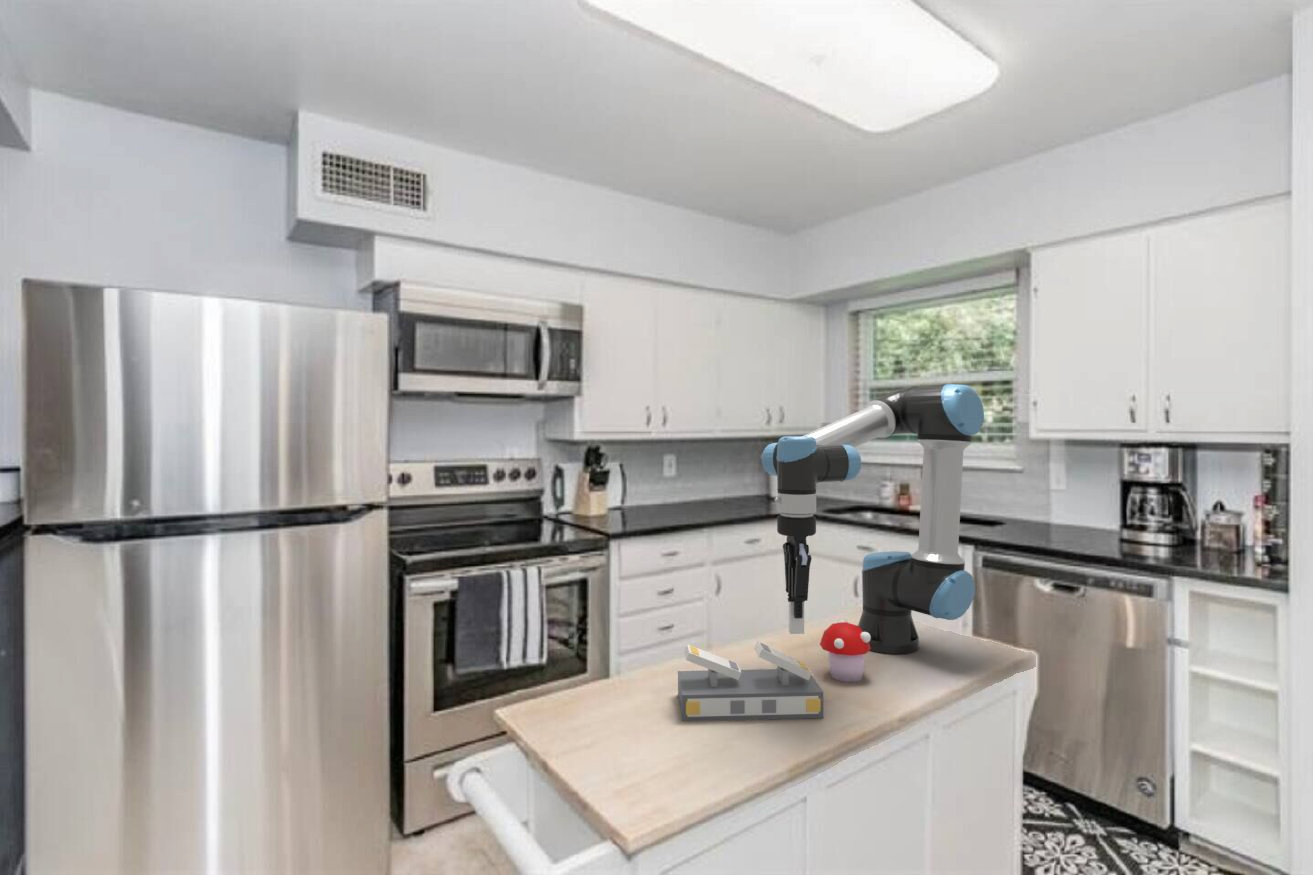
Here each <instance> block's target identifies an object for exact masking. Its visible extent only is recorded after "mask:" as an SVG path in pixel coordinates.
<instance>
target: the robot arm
mask: <svg viewBox="0 0 1313 875" xmlns="http://www.w3.org/2000/svg"><path fill="white" fill-rule="evenodd" d="M984 421H985V412H984V405H983V402H982V400H981V398H980V396H979V395H978V393H977V391H976V390H975V389H973V388H972V387H971V386H969V385H966V384H954V383H953V384H952V383H950V384H949V383H947V384H934V385H920V386H917V385H915V386H913V385H912V386H908V387H904V388H900V389H897V390H894V391H892V392H890V393H887V394H885V395H882V396H880V397H878V398H876V399H873V400H871V401H869V402H867V403H866V404H865V405H864V406H863V408H862V409H860V410H859V411H856V412H854V413H852V414H849V415H847V416H845V417H843V418H840V419H837V420H836V421H834V422H831V423H829V424H827V425H824V426H822V427H820V428H817V429H815V430H813V431H811V432H808V433H806V434H804V435H800V436H790V435H788V436H782V437H780V438H779V439H778V442H772V443H770V444H768V445H767V446H766V447H765V448H764V450H763V452H762V454H761V463H762V464H761V465H762V467H763V469H764V471H765V472H766V473H767V474H769V475H771V476H776V477H777V478H776V479H777V481H776V482H777V483H776V485H777V487H776V489H777V490H776V491H777V497H775V498H774V502H775V503H777V512H778V513H779V514H778V515H777V516H776V519H777V520H776V521H777V522H776V523H777V525H776V526H777V527H776V530H777V533H778V535H781V536H785V537H786V542H784V543H783V544H782V549H783V556H784V557H783V558H784V560H783V561H784V575H785V591H786V594H787V596H788V597H787V601H788V602H787V603H788V632H789V634H790V635H804V634H805V601H806V602H807V601H808V597H809V582H810V567H811V564H812V563H811V562H812V560H813V559H812V555H811V554H810V552H809V551H810V549H809V548H810V546H809V544H807V537H812V536H814V535H816V533H817V517H816V516H815V514H816V513H817V484H818V483H832V482H841V483H842V482H845V481H851V480H853V479H855V478H856V477H857V476H858V475H859V473H860V472H861V468H862V458H861V455H860V452H859V450H857V449H856V448H857V447H860V446H861V445H863V444H865V443H868V442H870V441H872V440H874V439H877V438H878V439H885V438H888V437H890V436H893V435H900V434H908V435H909V434H910V435H911V434H915V435H917V438H916V440H917V442H918V443H919V444H920V445H921V447H922V448H923V455H922V456H923V457H922V474H921V476H922V478H921V490H920V491H921V494H920V511H919V512H920V513H919V532H918V533H919V534H918V549H917V550H916V551H914V552H913V553H911V552H908V551H901V550H899V551H897V550H896V551H879V552H878V551H877V552H872V553H867V554H866V555H865V556H864V557H863V560H862V569H861V572H862V573H861V574H862V575H861V578H862V579H861V581H862V583H861V585H862V586H861V588H862V612H861V615H860V618H859V621H858V624H857V626H859V627H860V629H861V630H862V631H863V632H868V633H869V634H870V636H871V639H870V641H869V644H870V648H871V650H870V651H872V652H875V653H876V652H877V653H881V654H882V653H883V654H890V655H891V654H892V655H893V654H895V655H897V654H898V655H902V654H910V653H914V652H916V651H918V650H919V648H920V638H919V637H920V636H919V634H918V631H917V629H916V625H915V622H914V619H913V617H912V616H913V615H912V612H916V613H920V614H923V615H927V616H931V617H932V618H935V619H941V620H946V621H953V620H957V619H959V618H962V616H964V614H966V613H967V611H968V610H969V609H970V607H971V605H972V603H973V600H974V597H975V596H974V595H975V592H976V583H975V580H974V578H973V575H972V574H971V573H970V572H968V571H966V570H965V565H966V564H965V562H966V561H965V560H964V559H963V557H961V555H960V554H959V544H960V543H959V542H960V539H959V538H960V522H961V521H960V520H961V504H962V487H963V486H962V485H963V484H962V482H963V468H964V467H963V465H964V451H965V449H966V448H968V447H969V446H970V445H972V436H975V435H976V434H978V433H979V432H980V431H981V430H982V427H983V425H984Z"/></svg>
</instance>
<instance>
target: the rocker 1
mask: <svg viewBox="0 0 1313 875" xmlns="http://www.w3.org/2000/svg"><path fill="white" fill-rule="evenodd" d="M684 656H685V657H684V658H685V660H686V661H688V662H690V663H692V664H695V665H697V666H700V667H703V668H705V669H707V670H708V669H710V670H713V671H716V672H718V673H721V674H724V675H726V676H729V677H731V678H734V679H737V680H739V678H740V675H741V673H742V672H741V670H742V669H741V667H740V666H739V663H738V662H735V661H732V660H729V659H727V658H724V657H722V656H719V655H717V654H714V653H712V652H708V651H706V650H704V649H701V648H698V647H695V646H693V645H691V644H686V647H685V649H684Z"/></svg>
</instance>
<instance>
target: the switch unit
mask: <svg viewBox="0 0 1313 875" xmlns="http://www.w3.org/2000/svg"><path fill="white" fill-rule="evenodd" d="M740 670H741V672H742V673H741V675H740V678H739V680H737V679H734V678H731V677H729V676H726V675H724V674H721V673H718V672H716V671H713V670H710V669H708V668H707V670H678V671H677V696H678V703H679V710H680V716H681V721H682V722H707V721H710V722H711V721H712V722H713V721H746V720H748V721H750V720H754V721H755V720H791V719H793V720H794V719H795V720H796V719H799V720H800V719H824V714H825V713H824V711H825V710H824V709H825V708H824V698H825V697H824V691H823V689H822V688H821V686H820V685H819V684H818V681H817V680H816V679H815V677H814V676H813V675H811V677H810V679H809V681H808V680H806V679H804V678H802V677H800V676H798V675H796V674H794V673H792V672H790V671H787V670H785V669H783V668H781V667H779V666H777V665H776V668H763V669H761V668H758V669H757V668H756V669H740Z"/></svg>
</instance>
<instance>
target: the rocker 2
mask: <svg viewBox="0 0 1313 875" xmlns="http://www.w3.org/2000/svg"><path fill="white" fill-rule="evenodd" d="M753 649H754V651H755V653H756V655H757V657H758V658H760V659H763V660H764V661H767V662H769V663H771V664H773V665H775V666H776V667H777V666H779V667H781V668H783V669H785V670H787V671H790V672H792V673H794V674H796V675H798V676H800V677H802V678H804V679H806V680H808V681H809V679H810V677H811V675H812V674H813V672H812V671H811V670H810V668H809V667H808V665H807V664H806V663H804V662H803V661H800V660H798V659H796V658H793V657H792V656H790V655H787V654H786V653H784V652H781V651H779V650H777V649H775V648H773V647H770V646H769V645H766V644H765V643H762V642H760V641H756V643H755V646H754V648H753ZM812 676H813V675H812Z"/></svg>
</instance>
